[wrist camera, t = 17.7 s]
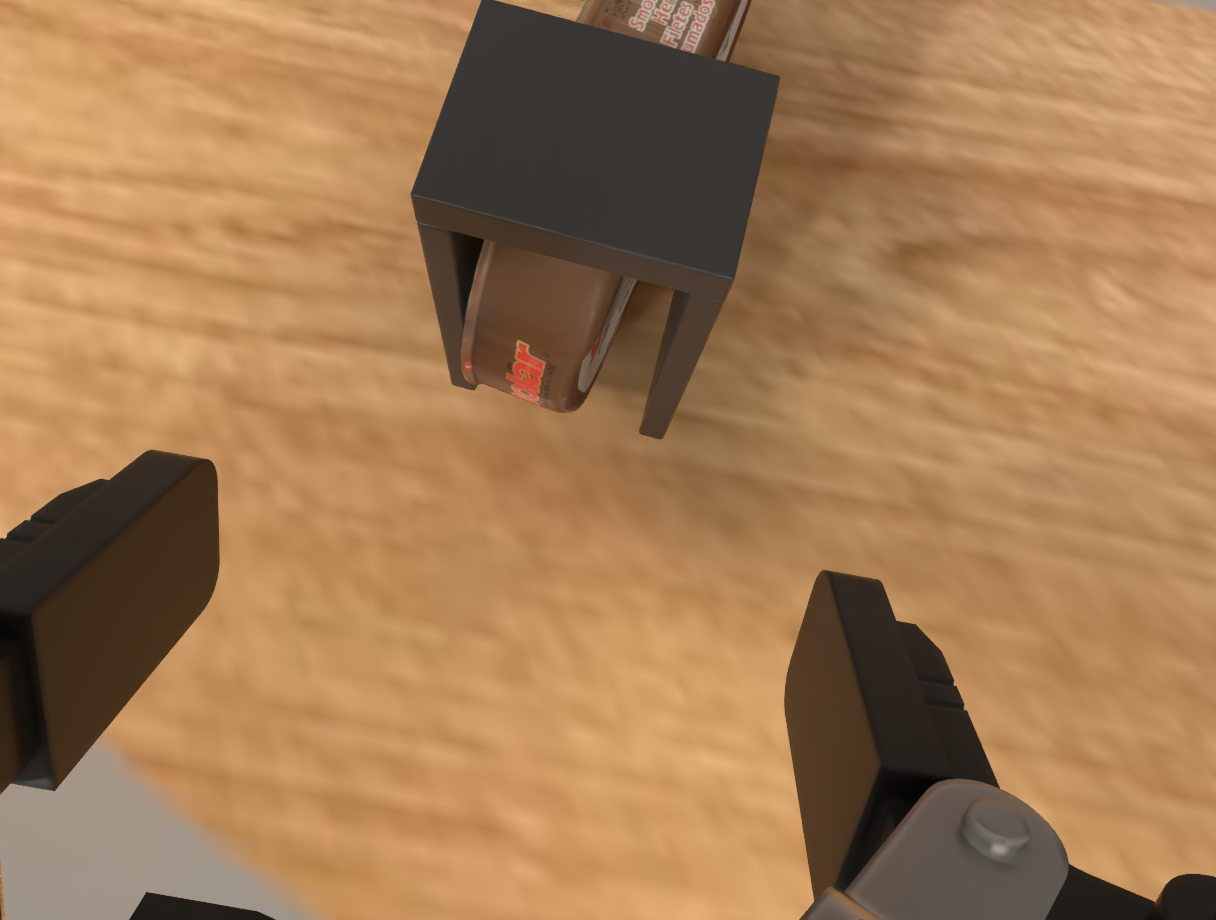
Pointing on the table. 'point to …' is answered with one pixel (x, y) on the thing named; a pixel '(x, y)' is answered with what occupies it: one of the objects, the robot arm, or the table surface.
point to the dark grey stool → (594, 172)
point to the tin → (561, 290)
